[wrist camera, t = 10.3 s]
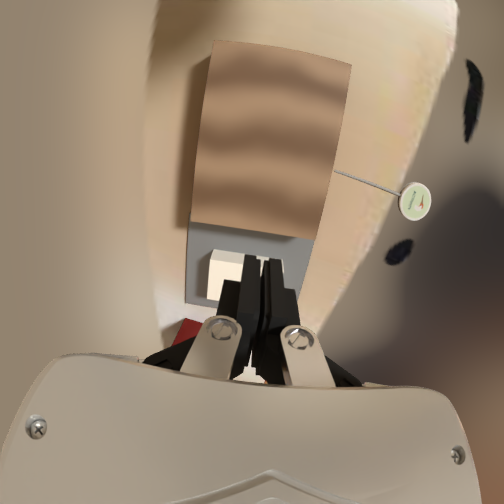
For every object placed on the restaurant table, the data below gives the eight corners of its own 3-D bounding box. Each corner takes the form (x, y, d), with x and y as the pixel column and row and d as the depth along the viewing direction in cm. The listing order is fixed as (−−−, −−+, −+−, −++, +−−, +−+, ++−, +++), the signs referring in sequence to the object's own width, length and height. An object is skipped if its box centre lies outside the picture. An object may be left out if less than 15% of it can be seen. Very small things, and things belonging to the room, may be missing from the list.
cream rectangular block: (206, 298, 35) (210, 287, 38) (274, 308, 36) (273, 296, 38) (210, 259, 33) (213, 249, 35) (284, 270, 33) (282, 259, 36)
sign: (341, 150, 29) (435, 191, 30) (339, 149, 30) (432, 189, 31) (328, 190, 31) (422, 225, 32) (327, 189, 32) (419, 222, 33)
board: (219, 49, 24) (214, 40, 21) (341, 70, 25) (351, 64, 21) (198, 209, 33) (190, 221, 30) (309, 227, 34) (315, 240, 30)
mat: (190, 212, 33) (189, 213, 33) (316, 232, 34) (316, 233, 34) (186, 301, 40) (185, 303, 39) (291, 317, 40) (291, 318, 40)
